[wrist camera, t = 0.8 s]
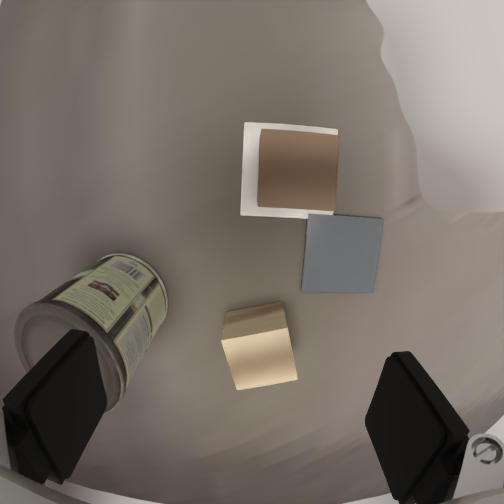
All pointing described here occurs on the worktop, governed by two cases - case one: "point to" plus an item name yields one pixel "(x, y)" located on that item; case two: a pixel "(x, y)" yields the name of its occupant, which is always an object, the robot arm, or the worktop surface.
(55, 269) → the worktop surface
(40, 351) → the coffee can
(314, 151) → the walnut block
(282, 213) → the tile
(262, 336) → the maple block
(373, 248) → the slate coaster
